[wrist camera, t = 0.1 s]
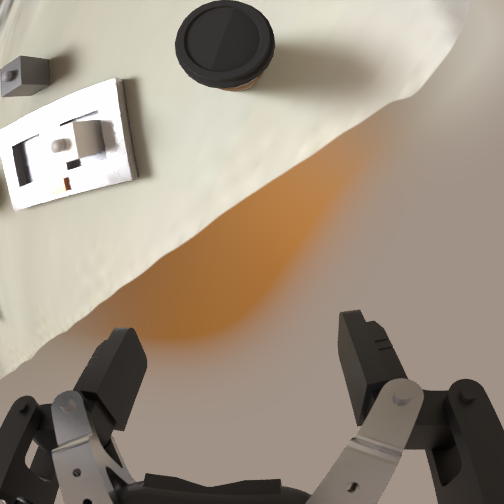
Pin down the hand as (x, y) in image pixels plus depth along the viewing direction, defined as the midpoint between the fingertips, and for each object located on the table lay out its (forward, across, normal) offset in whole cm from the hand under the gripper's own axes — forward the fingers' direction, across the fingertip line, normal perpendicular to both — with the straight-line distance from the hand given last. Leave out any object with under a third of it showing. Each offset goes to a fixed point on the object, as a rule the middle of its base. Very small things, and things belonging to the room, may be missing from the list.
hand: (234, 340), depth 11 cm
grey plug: (+30, +30, -23) cm, 48 cm away
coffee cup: (+30, 0, -15) cm, 34 cm away
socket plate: (+30, +27, -10) cm, 42 cm away
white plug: (+30, +22, -10) cm, 38 cm away
